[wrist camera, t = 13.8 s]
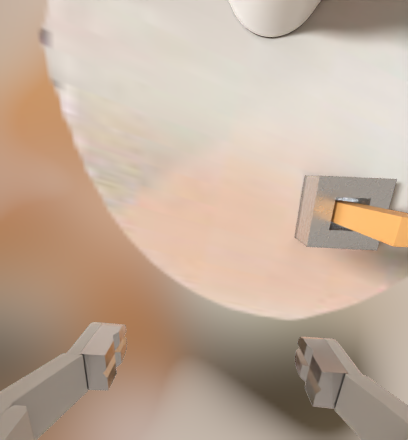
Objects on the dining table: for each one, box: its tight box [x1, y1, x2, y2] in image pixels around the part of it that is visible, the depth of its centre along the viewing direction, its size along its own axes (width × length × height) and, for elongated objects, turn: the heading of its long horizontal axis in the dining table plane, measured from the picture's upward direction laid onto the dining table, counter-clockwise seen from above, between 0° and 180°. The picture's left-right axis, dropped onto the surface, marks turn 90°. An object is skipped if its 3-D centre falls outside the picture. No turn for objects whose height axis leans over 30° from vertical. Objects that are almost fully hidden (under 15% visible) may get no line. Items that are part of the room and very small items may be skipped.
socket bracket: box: [295, 176, 397, 250], centre depth 33 cm, size 12×12×5 cm
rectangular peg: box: [331, 200, 408, 247], centre depth 28 cm, size 4×4×14 cm
